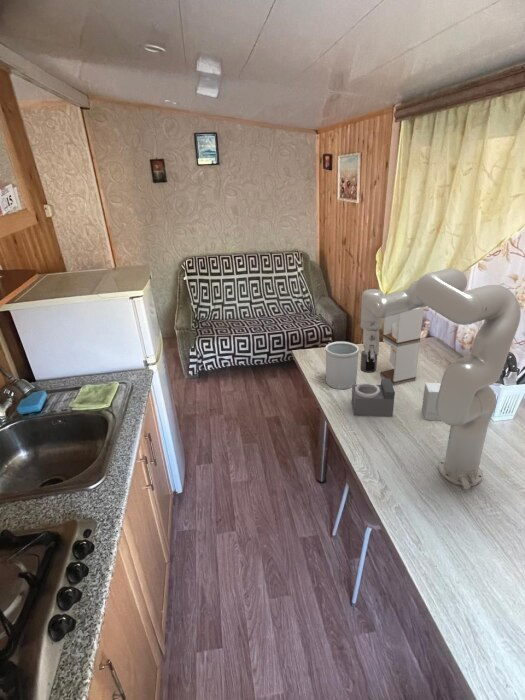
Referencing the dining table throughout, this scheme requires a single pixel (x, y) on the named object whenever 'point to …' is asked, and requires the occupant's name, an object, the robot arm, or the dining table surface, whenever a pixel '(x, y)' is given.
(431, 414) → the supplement box
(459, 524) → the dining table surface
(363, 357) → the lens
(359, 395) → the camera body
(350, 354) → the utensil holder
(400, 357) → the slotted white tower
